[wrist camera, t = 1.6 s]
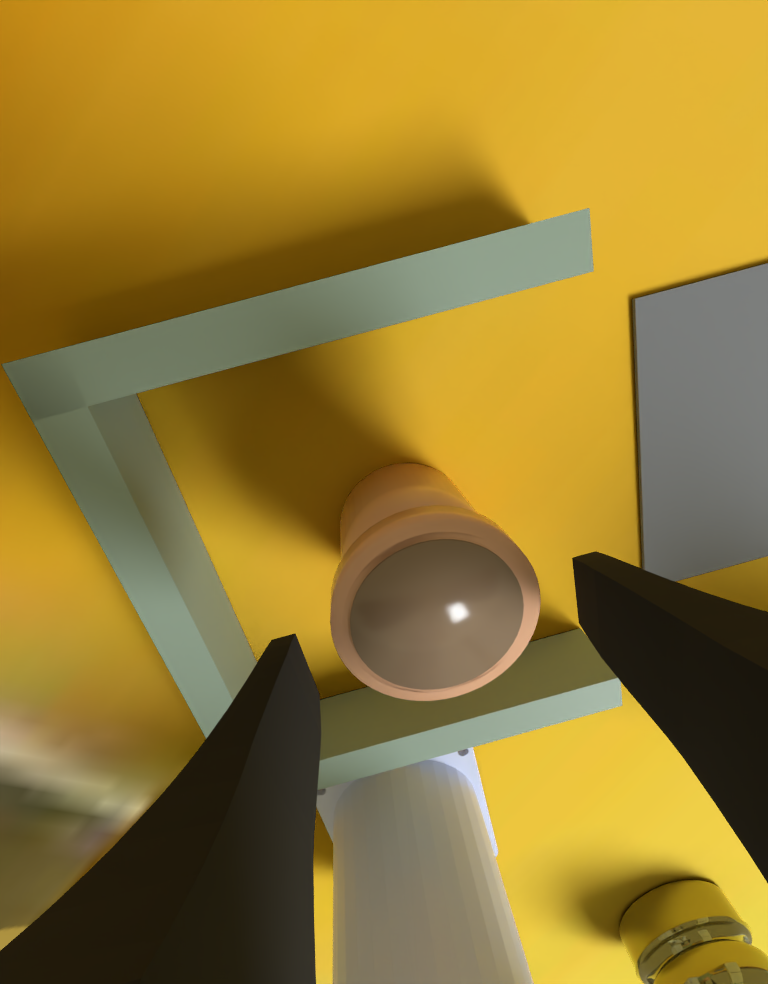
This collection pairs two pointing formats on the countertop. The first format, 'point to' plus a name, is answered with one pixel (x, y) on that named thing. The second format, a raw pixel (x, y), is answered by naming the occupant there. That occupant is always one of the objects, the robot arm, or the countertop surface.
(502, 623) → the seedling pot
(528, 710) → the green u-shaped frame
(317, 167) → the countertop surface
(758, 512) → the rubber mat
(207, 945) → the robot arm
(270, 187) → the countertop surface
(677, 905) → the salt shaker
